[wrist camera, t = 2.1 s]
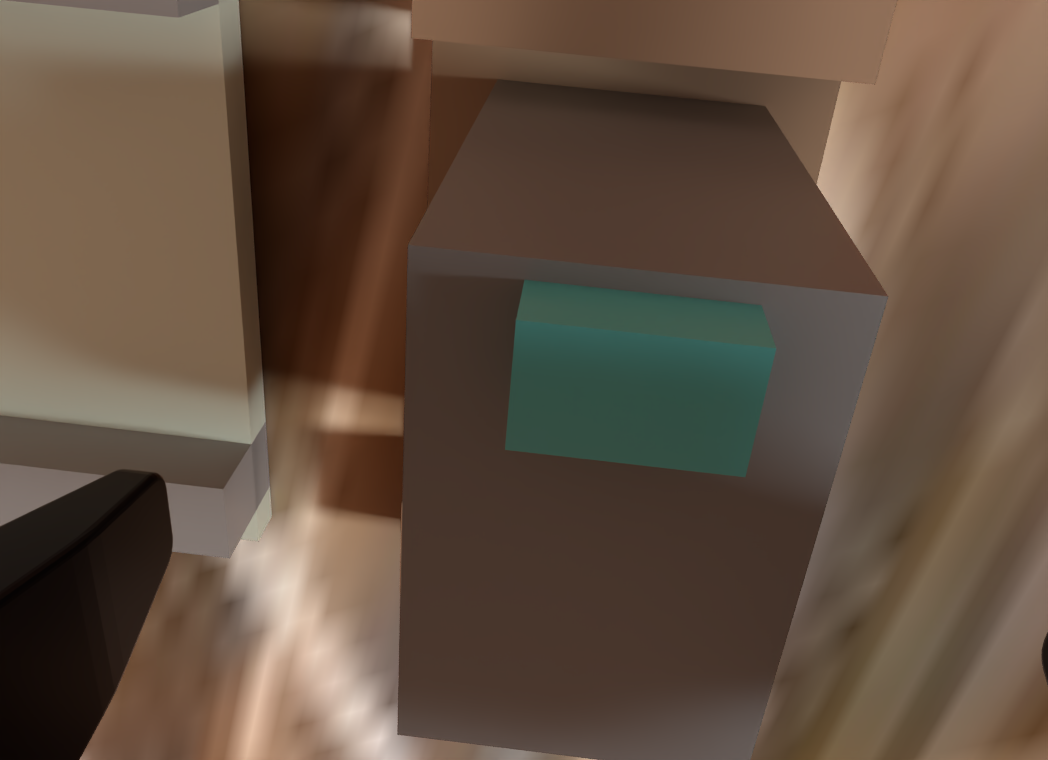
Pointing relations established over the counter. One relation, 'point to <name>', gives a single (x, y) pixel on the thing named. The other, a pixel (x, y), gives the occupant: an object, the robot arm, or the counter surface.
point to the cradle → (130, 262)
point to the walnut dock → (652, 57)
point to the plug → (618, 423)
